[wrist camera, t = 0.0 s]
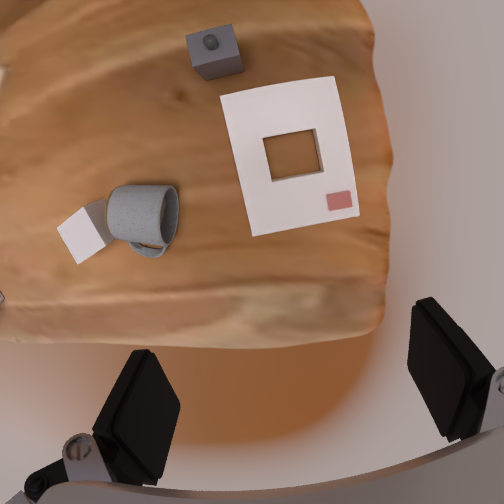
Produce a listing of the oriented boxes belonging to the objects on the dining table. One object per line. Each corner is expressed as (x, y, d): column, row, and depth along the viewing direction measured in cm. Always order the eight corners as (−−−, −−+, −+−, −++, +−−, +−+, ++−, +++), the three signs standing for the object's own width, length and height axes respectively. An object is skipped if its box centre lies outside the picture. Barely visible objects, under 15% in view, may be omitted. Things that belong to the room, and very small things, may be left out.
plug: (199, 54, 33) (181, 31, 24) (237, 45, 32) (230, 18, 23) (206, 81, 34) (189, 63, 25) (244, 71, 34) (238, 50, 24)
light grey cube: (104, 197, 40) (83, 206, 34) (124, 232, 42) (106, 245, 36) (78, 217, 41) (56, 228, 35) (97, 249, 43) (77, 264, 37)
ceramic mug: (124, 180, 39) (97, 191, 32) (179, 180, 39) (161, 191, 32) (128, 251, 43) (106, 273, 36) (180, 255, 43) (165, 279, 35)
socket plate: (222, 98, 35) (219, 95, 32) (329, 79, 33) (335, 74, 30) (253, 231, 41) (252, 238, 38) (354, 211, 39) (361, 217, 36)
